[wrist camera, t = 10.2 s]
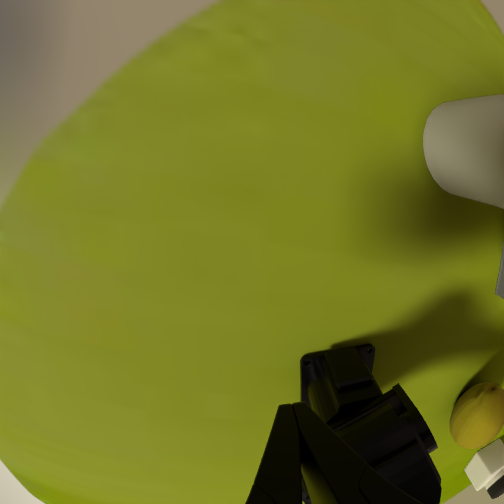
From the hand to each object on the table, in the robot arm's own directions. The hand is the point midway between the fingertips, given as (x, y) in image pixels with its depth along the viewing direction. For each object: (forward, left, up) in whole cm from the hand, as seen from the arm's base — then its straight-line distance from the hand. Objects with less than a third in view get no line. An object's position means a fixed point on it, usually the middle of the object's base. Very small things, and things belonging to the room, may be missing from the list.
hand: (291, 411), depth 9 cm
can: (+8, -16, -13) cm, 23 cm away
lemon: (-21, -25, -13) cm, 35 cm away
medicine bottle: (-47, -42, -13) cm, 64 cm away
